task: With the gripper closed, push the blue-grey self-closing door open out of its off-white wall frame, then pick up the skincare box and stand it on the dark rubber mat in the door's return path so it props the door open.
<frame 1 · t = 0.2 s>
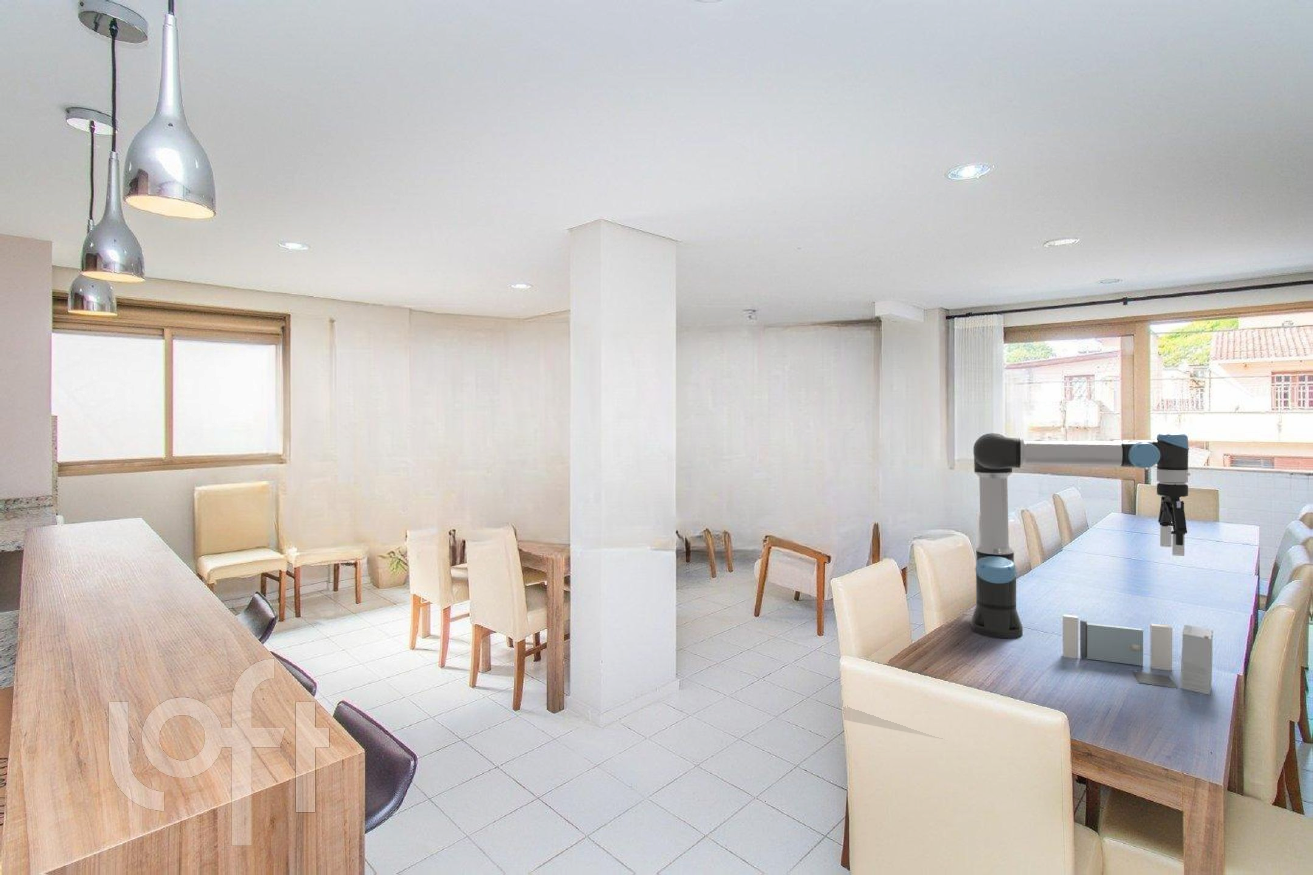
hand: (1171, 550, 195), 28 cm above the table, fingers open, 13 cm apart
skincare box: (1196, 687, 162), on the table
mat: (1154, 679, 167), on the table
door: (1111, 643, 178), point 6 cm above the table, hinge at 0.0°
wall: (1117, 662, 179), on the table
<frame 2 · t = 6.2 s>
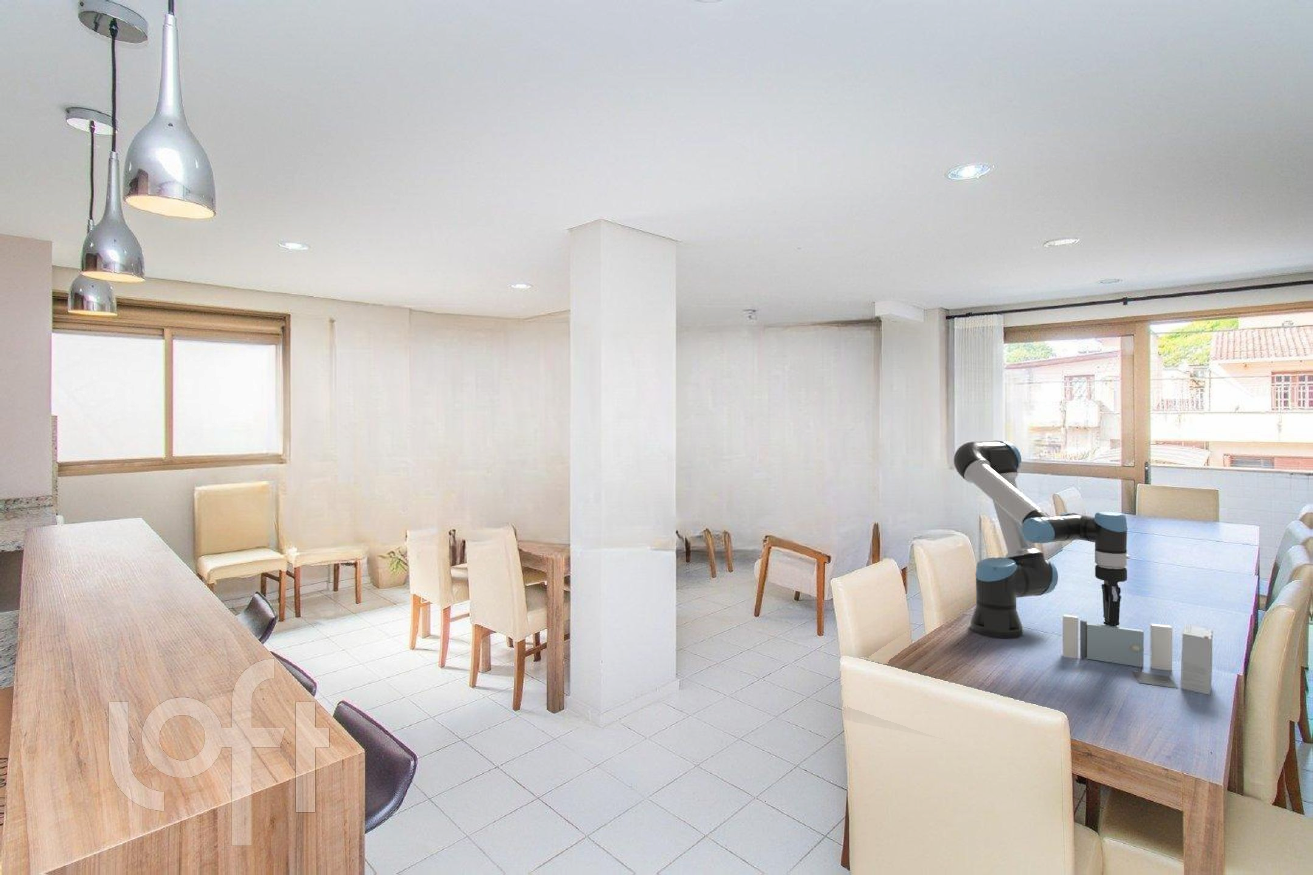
hand: (1111, 645, 182), 3 cm above the table, fingers closed
door: (1111, 643, 178), point 6 cm above the table, hinge at -5.2°, touching gripper
everything else where it was.
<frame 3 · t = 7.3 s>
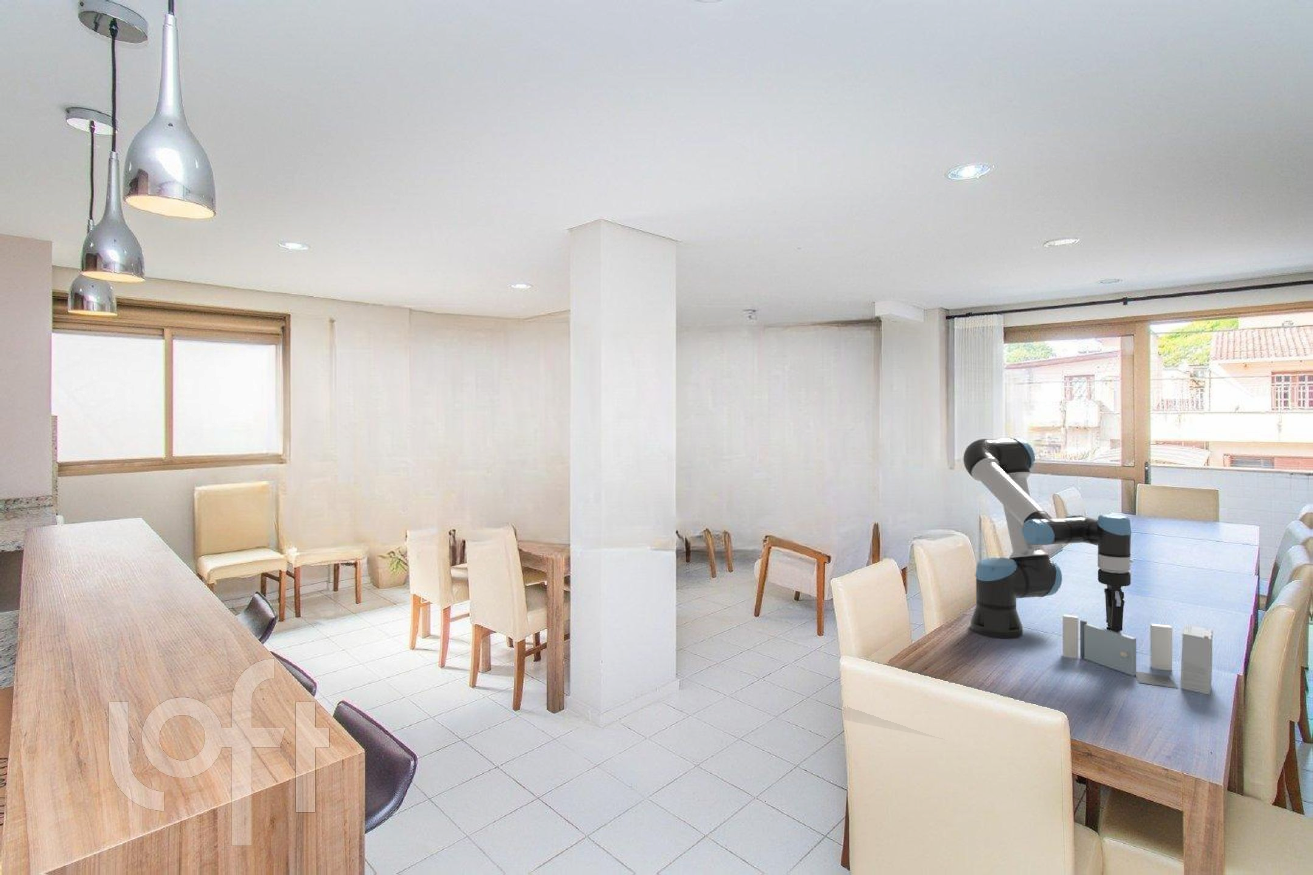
hand: (1114, 651, 178), 3 cm above the table, fingers closed
door: (1104, 646, 176), point 6 cm above the table, hinge at -41.9°
everything else where it was.
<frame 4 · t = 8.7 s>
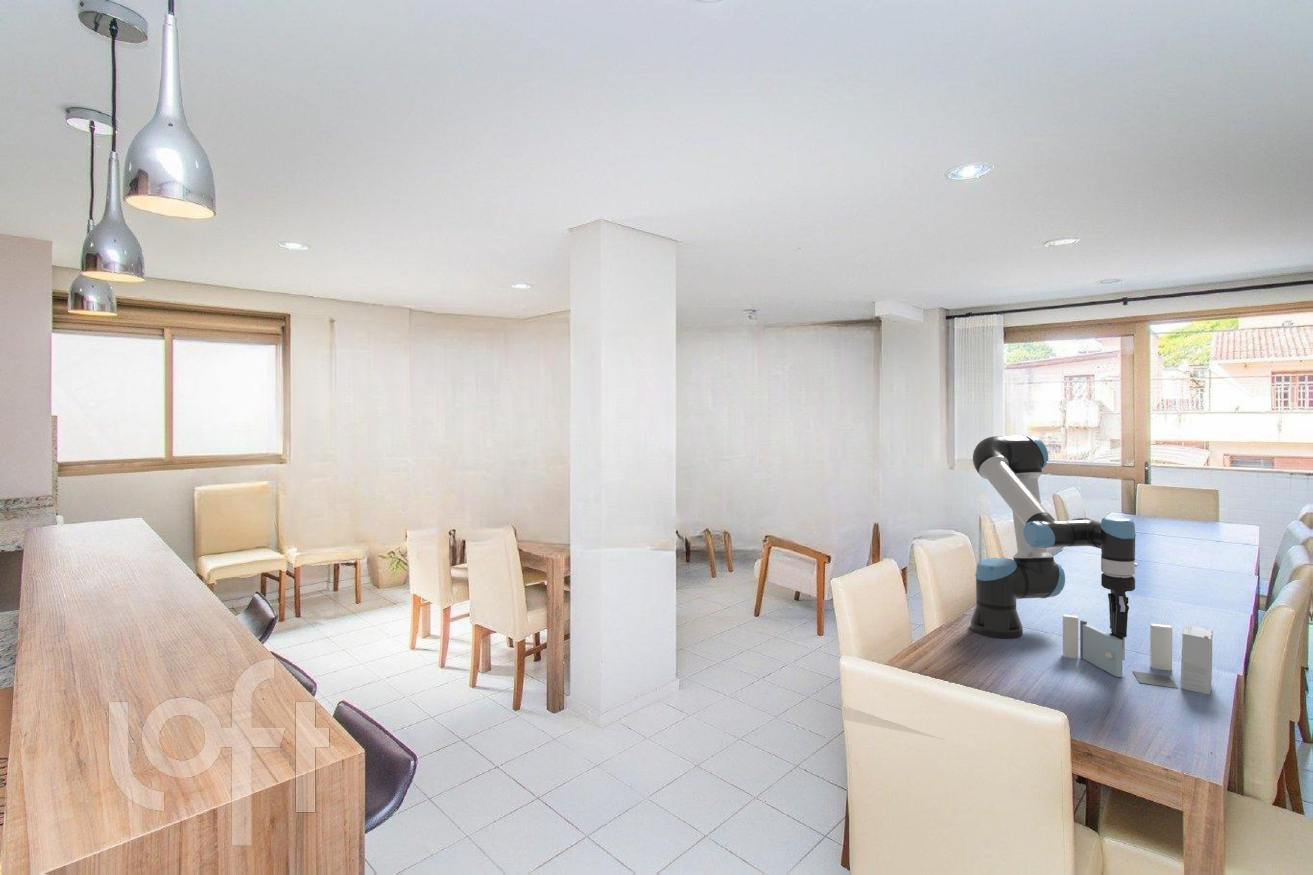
hand: (1118, 658, 173), 3 cm above the table, fingers closed
door: (1097, 647, 176), point 6 cm above the table, hinge at -61.8°
everything else where it was.
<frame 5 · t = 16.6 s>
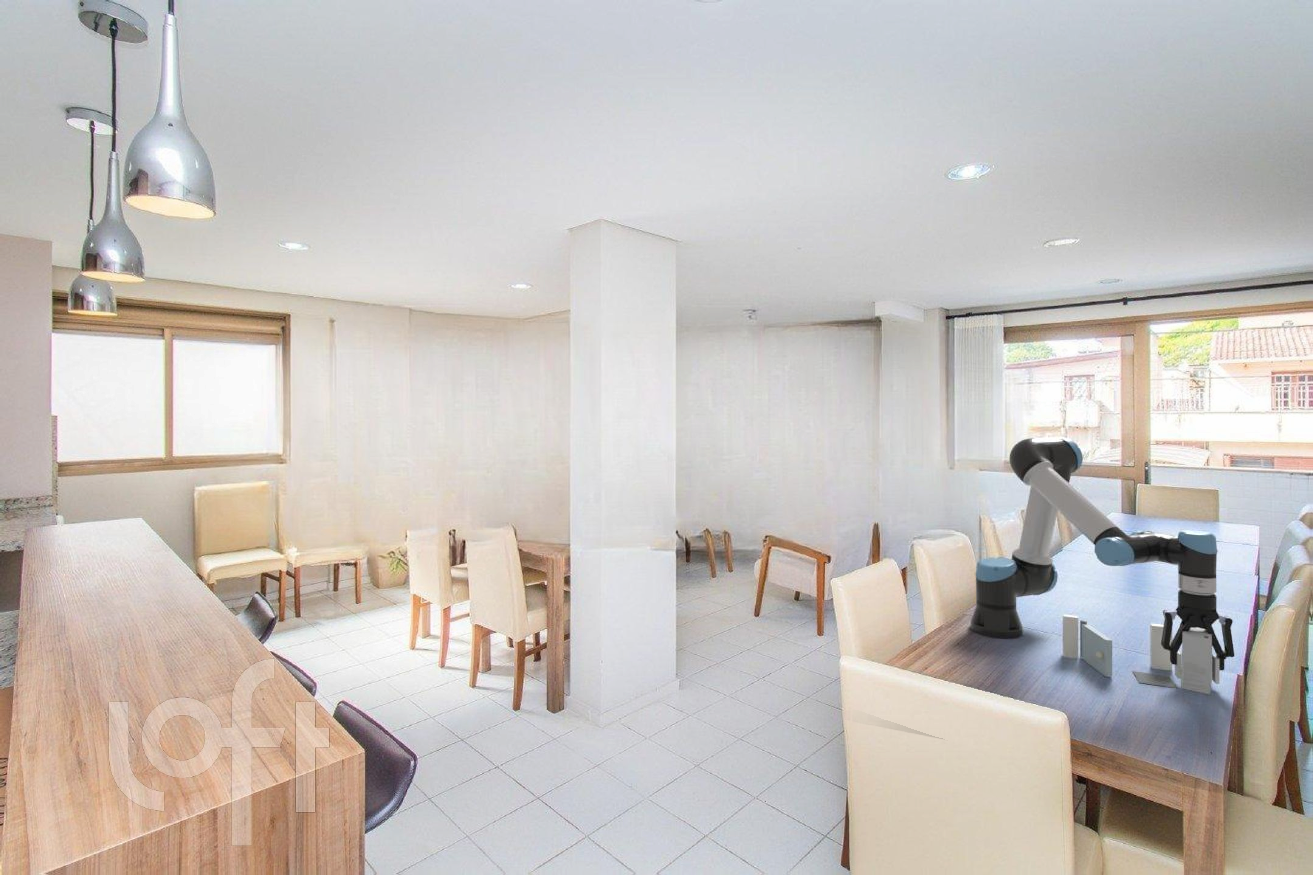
hand: (1196, 678, 162), 2 cm above the table, fingers closed on skincare box, 7 cm apart
skincare box: (1196, 687, 162), on the table, touching gripper
door: (1092, 647, 176), point 6 cm above the table, hinge at -73.1°
when the fingers open (3 cm above the table, at t = 22.0 s): skincare box drops 1 cm, resting on mat.
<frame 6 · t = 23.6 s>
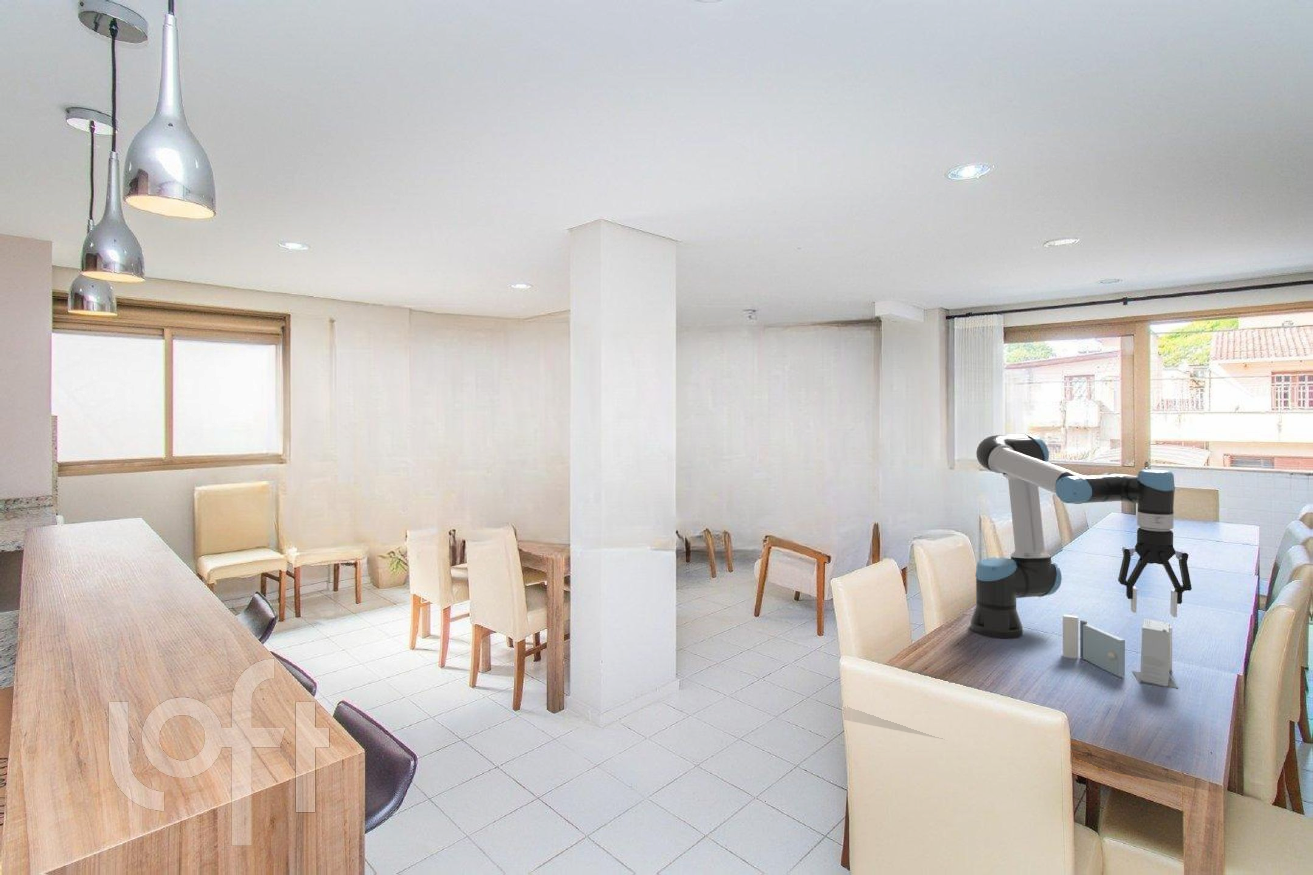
hand: (1153, 612, 166), 18 cm above the table, fingers open, 8 cm apart
skincare box: (1155, 679, 167), resting on mat
door: (1098, 647, 175), point 6 cm above the table, hinge at -58.9°
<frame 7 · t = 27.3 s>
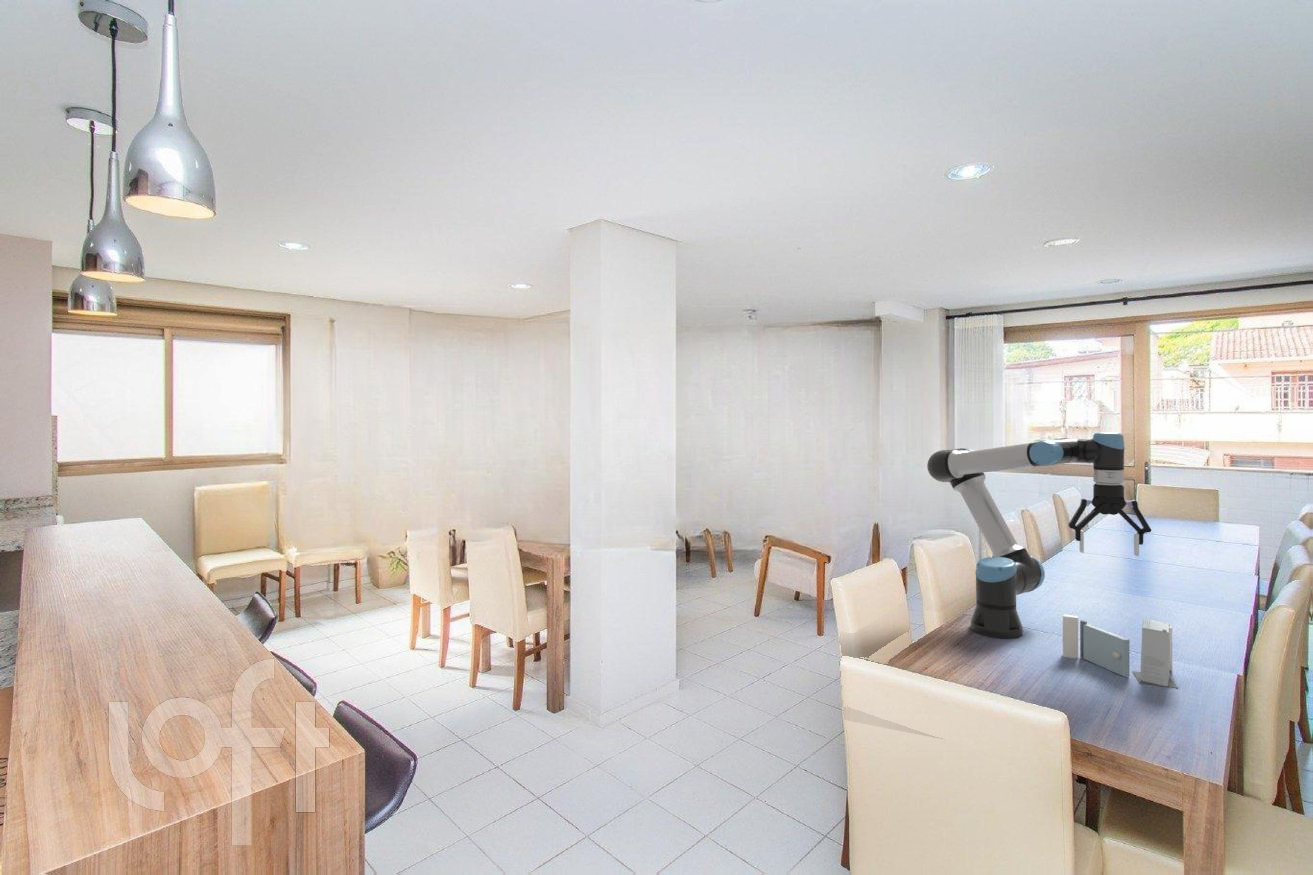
hand: (1108, 553, 189), 29 cm above the table, fingers open, 13 cm apart
door: (1100, 647, 175), point 6 cm above the table, hinge at -52.8°
everything else where it was.
at the end: door at -53° (first picture: +0°); skincare box inside the target area (0.1 cm from its centre), resting on mat; skincare box tilted 0° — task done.
